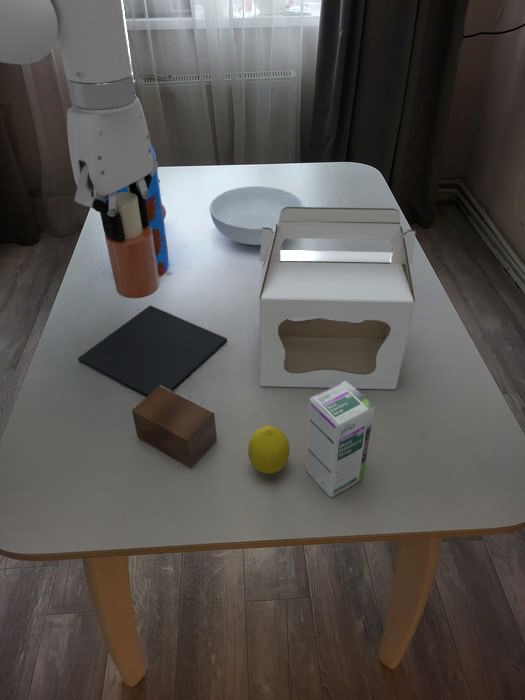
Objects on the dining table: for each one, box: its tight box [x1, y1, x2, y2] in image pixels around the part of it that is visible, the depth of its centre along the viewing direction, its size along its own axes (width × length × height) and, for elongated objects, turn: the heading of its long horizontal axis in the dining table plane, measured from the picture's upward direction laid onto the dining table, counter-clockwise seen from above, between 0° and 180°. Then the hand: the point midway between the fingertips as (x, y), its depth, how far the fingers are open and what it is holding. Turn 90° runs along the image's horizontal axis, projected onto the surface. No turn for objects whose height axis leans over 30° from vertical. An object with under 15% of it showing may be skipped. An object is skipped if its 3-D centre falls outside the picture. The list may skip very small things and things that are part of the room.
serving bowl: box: [209, 185, 305, 246], centre depth 125 cm, size 21×21×7 cm
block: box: [131, 385, 218, 469], centre depth 79 cm, size 10×6×6 cm, turn 57°
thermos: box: [104, 143, 170, 278], centre depth 108 cm, size 11×11×25 cm
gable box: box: [258, 206, 416, 390], centre depth 85 cm, size 22×13×28 cm, turn 88°
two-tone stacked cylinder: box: [104, 192, 160, 299], centre depth 79 cm, size 6×12×14 cm
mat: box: [77, 305, 228, 398], centre depth 96 cm, size 18×18×1 cm
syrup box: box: [305, 381, 375, 498], centre depth 72 cm, size 6×6×14 cm
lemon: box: [247, 425, 290, 475], centre depth 75 cm, size 6×6×8 cm
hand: (127, 230), depth 77 cm, fingers closed on two-tone stacked cylinder, 4 cm apart
